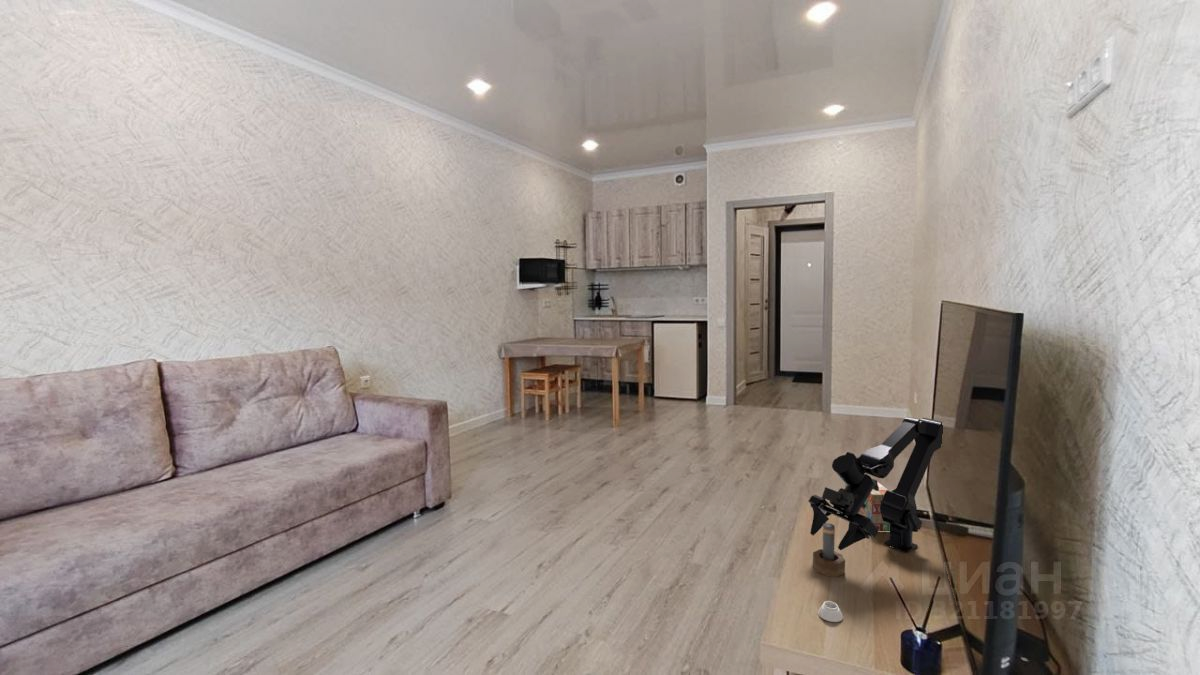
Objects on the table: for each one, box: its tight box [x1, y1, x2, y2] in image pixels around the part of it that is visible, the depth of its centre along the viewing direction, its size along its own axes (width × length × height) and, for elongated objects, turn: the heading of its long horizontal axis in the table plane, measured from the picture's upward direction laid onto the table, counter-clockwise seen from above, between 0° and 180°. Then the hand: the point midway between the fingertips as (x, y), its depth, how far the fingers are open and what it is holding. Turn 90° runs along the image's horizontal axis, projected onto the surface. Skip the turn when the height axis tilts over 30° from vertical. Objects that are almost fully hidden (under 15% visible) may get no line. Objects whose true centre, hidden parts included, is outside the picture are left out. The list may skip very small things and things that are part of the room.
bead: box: [812, 548, 846, 578], centre depth 143 cm, size 7×7×4 cm
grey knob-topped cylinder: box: [822, 522, 836, 561], centre depth 142 cm, size 3×3×12 cm
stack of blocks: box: [844, 481, 890, 531], centre depth 173 cm, size 21×6×12 cm, turn 176°
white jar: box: [818, 600, 844, 623], centre depth 123 cm, size 5×3×5 cm
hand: (825, 541), depth 142 cm, fingers open, 9 cm apart
